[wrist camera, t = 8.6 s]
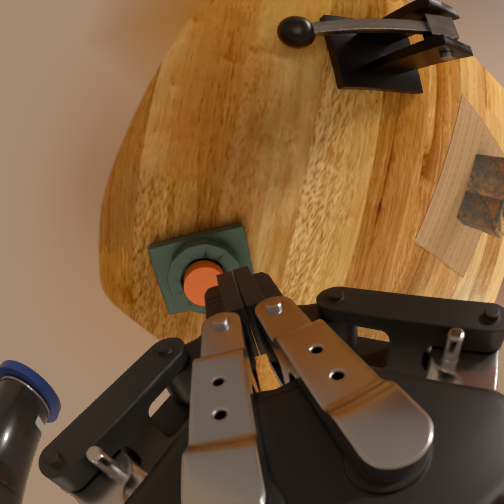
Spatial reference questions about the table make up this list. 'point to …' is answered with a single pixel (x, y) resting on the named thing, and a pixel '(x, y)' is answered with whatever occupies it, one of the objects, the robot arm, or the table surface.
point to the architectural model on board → (465, 194)
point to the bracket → (392, 52)
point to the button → (200, 280)
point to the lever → (361, 28)
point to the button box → (192, 250)
